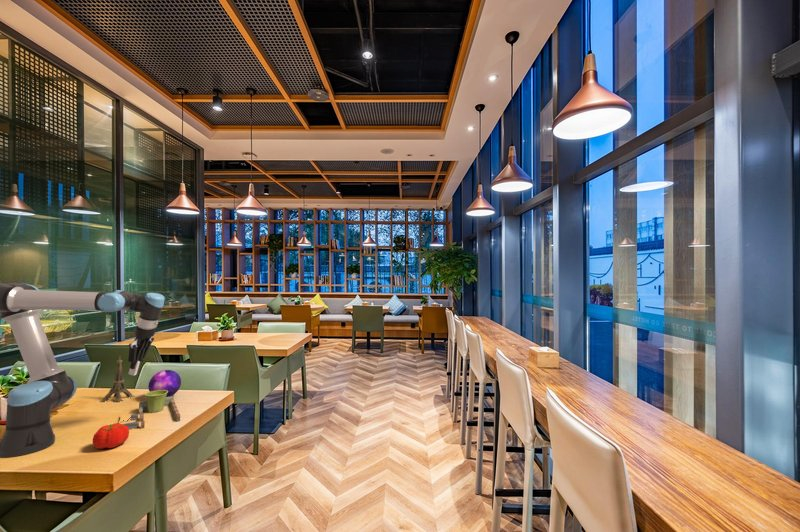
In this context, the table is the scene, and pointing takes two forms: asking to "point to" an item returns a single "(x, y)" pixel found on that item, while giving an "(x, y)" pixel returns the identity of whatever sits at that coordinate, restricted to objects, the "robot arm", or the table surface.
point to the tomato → (110, 436)
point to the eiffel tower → (118, 385)
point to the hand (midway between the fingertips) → (132, 374)
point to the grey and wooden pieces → (144, 406)
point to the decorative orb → (165, 382)
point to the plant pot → (156, 400)
